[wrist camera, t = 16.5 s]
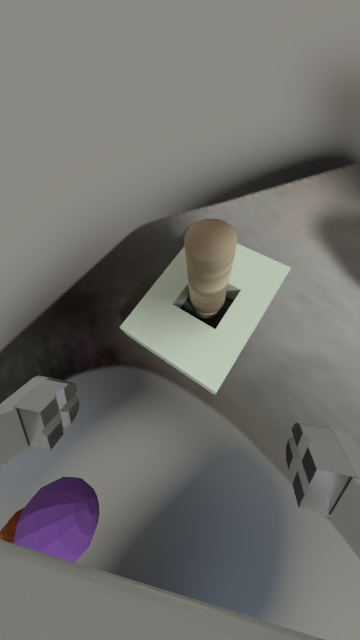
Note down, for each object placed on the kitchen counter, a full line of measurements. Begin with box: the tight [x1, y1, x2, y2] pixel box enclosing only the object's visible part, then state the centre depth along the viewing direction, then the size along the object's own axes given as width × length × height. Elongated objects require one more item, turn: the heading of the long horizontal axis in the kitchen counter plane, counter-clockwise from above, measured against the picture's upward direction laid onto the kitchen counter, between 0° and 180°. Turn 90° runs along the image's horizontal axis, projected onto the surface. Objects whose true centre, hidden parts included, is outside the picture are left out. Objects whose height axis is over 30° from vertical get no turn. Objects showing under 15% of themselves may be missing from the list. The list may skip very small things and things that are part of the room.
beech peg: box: [184, 219, 238, 320], centre depth 21 cm, size 4×4×12 cm
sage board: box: [120, 244, 291, 395], centre depth 25 cm, size 12×16×3 cm
